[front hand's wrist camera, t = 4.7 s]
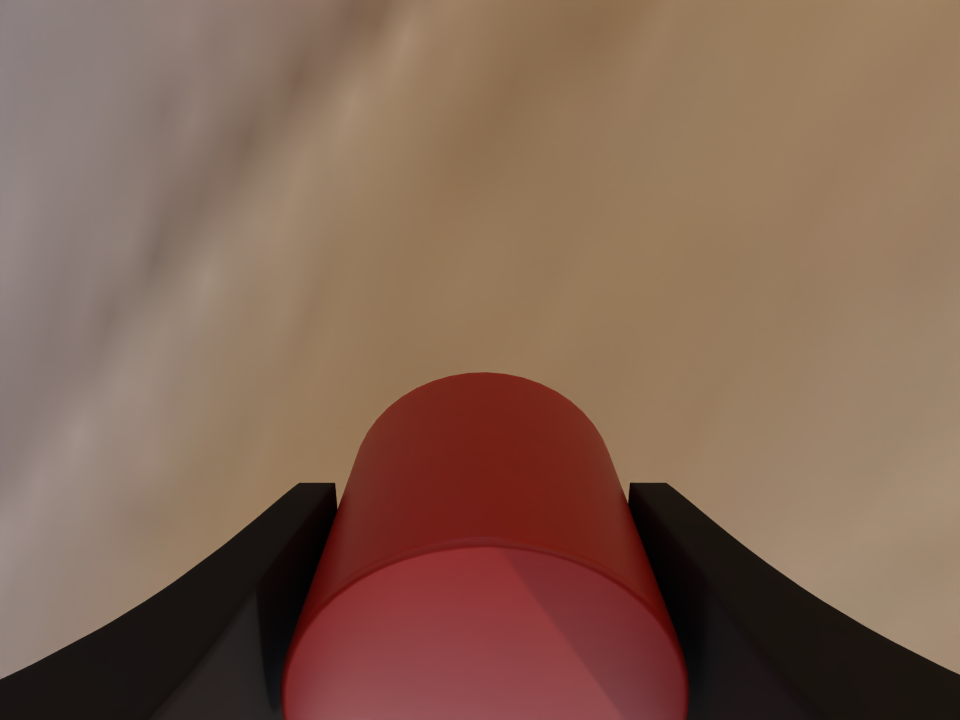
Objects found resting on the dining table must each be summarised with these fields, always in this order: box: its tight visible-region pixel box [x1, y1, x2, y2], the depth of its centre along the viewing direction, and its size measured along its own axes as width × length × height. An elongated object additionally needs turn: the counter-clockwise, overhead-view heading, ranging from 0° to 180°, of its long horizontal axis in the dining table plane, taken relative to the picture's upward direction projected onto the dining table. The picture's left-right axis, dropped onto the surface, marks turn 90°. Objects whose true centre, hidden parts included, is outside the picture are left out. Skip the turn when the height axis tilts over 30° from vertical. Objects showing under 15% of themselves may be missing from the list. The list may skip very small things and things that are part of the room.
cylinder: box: [280, 372, 690, 720], centre depth 10 cm, size 5×5×5 cm
